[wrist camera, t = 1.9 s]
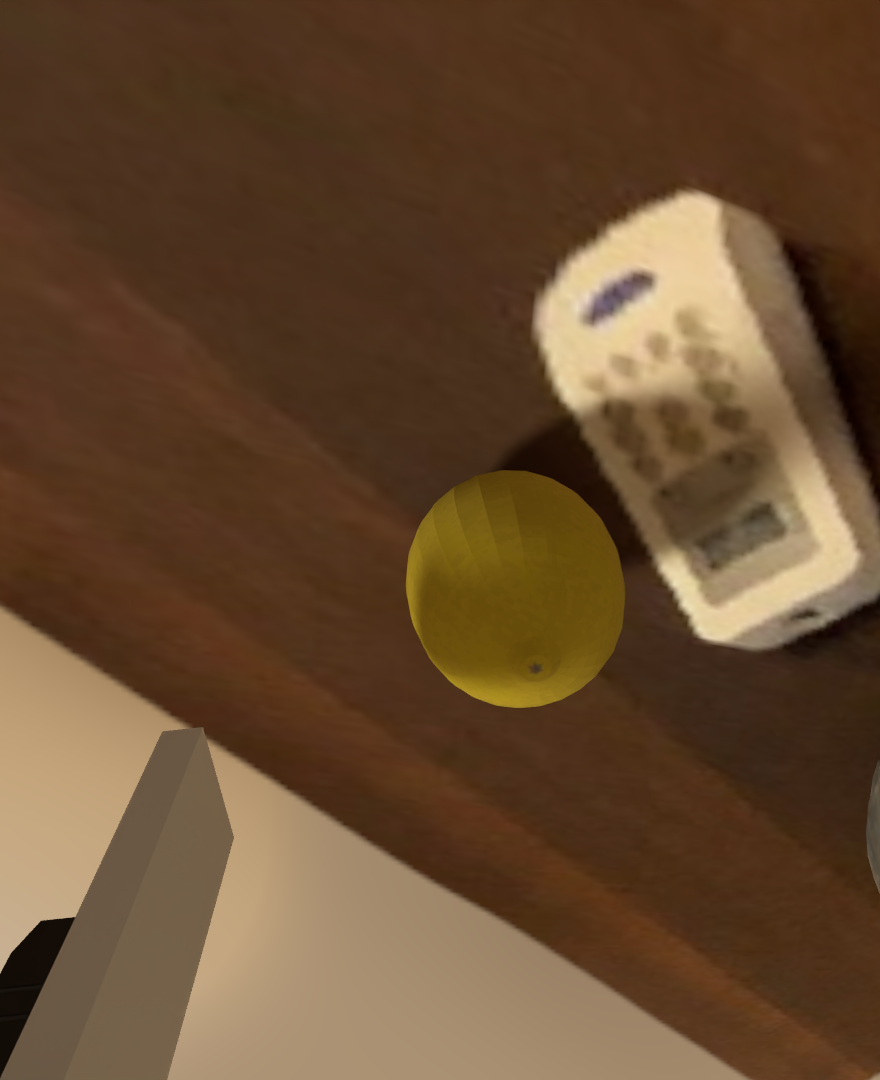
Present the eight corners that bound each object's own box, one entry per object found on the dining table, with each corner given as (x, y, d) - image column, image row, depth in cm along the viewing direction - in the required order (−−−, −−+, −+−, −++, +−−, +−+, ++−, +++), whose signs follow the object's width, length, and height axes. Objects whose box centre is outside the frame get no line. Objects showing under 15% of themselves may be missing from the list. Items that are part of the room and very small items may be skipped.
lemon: (609, 455, 23) (704, 581, 15) (555, 613, 25) (616, 788, 18) (428, 415, 22) (438, 528, 15) (389, 582, 24) (381, 751, 17)
